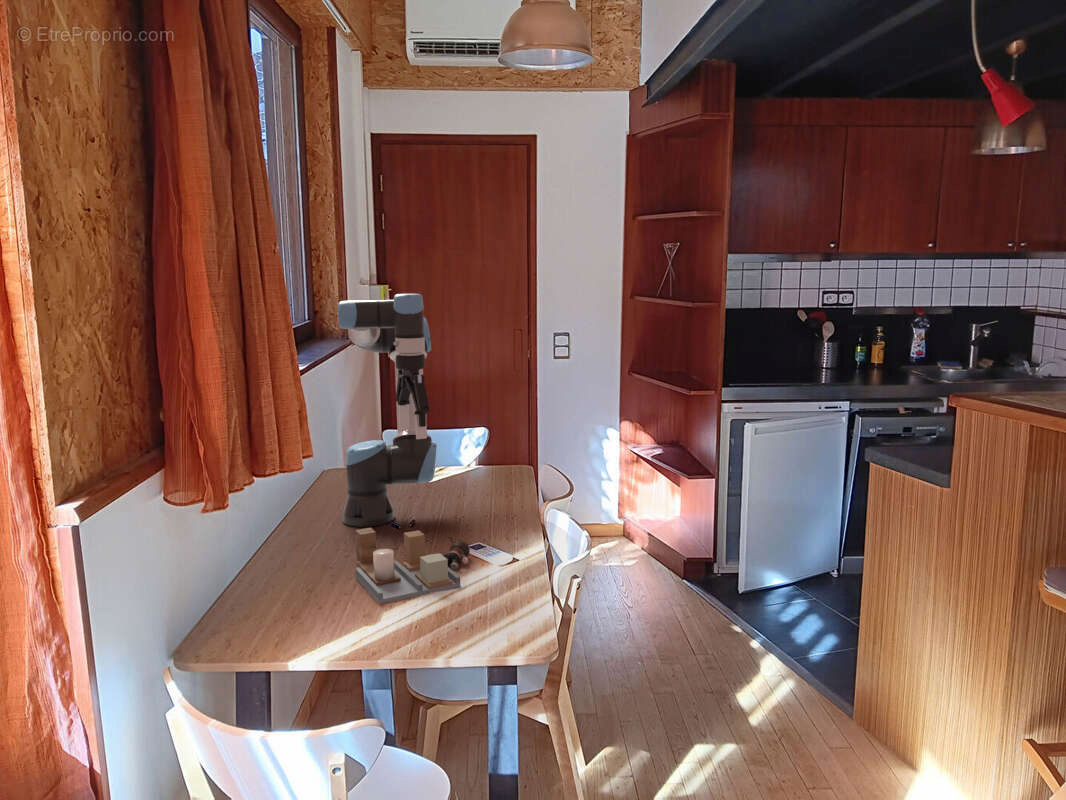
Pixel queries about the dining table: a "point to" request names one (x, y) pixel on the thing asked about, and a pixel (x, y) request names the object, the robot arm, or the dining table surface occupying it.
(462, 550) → the figurine
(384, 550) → the cream rounded capsule
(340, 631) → the dining table surface
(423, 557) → the sage block
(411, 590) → the lane board
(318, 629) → the dining table surface
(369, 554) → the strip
